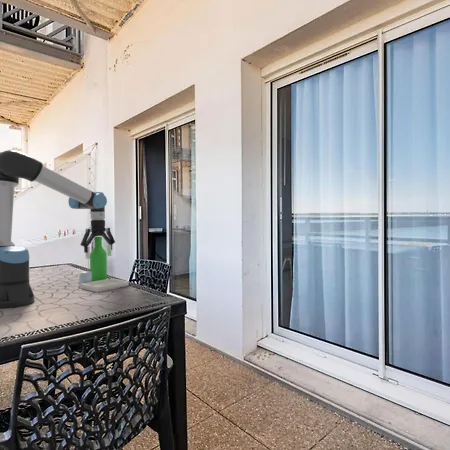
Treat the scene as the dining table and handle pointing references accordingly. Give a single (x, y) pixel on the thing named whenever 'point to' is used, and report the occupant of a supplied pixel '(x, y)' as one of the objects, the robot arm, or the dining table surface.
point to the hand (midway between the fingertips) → (98, 257)
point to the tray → (104, 285)
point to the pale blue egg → (85, 277)
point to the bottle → (98, 261)
